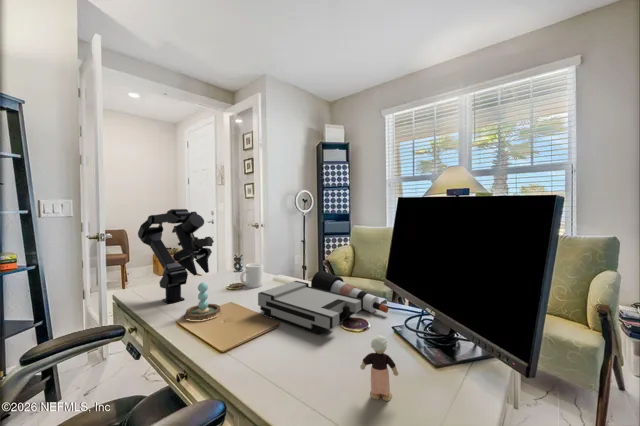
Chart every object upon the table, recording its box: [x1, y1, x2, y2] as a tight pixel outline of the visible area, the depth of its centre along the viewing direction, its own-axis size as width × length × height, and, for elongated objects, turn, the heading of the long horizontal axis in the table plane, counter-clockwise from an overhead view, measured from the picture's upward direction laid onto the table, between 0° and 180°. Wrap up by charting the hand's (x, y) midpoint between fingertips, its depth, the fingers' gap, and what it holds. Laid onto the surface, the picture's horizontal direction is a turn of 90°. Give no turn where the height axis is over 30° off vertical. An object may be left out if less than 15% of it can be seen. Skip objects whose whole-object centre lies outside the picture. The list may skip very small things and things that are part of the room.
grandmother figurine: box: [359, 334, 399, 402], centre depth 58 cm, size 8×4×13 cm, turn 87°
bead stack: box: [197, 282, 209, 314], centre depth 99 cm, size 4×4×11 cm
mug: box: [239, 262, 264, 289], centre depth 134 cm, size 12×8×10 cm
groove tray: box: [184, 303, 222, 320], centre depth 99 cm, size 12×12×2 cm
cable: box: [310, 270, 389, 314], centre depth 110 cm, size 10×34×10 cm, turn 47°
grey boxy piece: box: [257, 280, 364, 336], centre depth 99 cm, size 21×32×8 cm, turn 53°
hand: (201, 273), depth 107 cm, fingers open, 9 cm apart
